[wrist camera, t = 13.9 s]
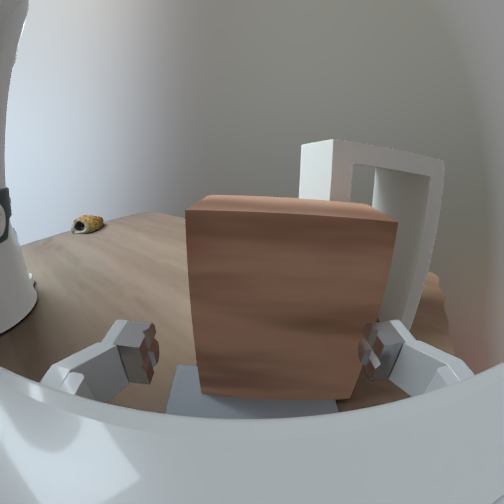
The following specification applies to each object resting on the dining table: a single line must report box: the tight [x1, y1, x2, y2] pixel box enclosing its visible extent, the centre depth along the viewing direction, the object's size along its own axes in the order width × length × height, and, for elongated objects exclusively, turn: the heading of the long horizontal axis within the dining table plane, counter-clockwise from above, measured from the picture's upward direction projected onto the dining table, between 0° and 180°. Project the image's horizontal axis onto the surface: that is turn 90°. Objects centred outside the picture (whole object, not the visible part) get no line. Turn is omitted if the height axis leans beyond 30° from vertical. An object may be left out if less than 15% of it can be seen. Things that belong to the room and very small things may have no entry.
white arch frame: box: [299, 139, 445, 331], centre depth 24 cm, size 10×10×16 cm
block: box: [185, 195, 398, 400], centre depth 16 cm, size 5×10×12 cm, turn 86°
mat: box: [165, 365, 339, 419], centre depth 14 cm, size 11×11×1 cm
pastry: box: [71, 215, 103, 234], centre depth 56 cm, size 9×7×4 cm
